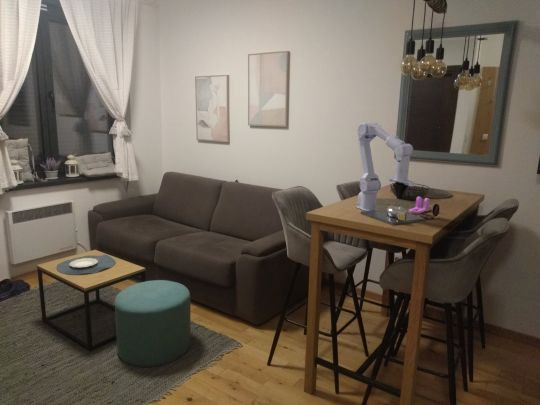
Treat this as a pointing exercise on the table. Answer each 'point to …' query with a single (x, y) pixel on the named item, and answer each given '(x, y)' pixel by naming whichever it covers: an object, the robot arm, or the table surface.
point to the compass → (434, 211)
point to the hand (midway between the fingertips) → (399, 198)
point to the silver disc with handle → (397, 212)
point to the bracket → (418, 206)
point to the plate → (383, 217)
